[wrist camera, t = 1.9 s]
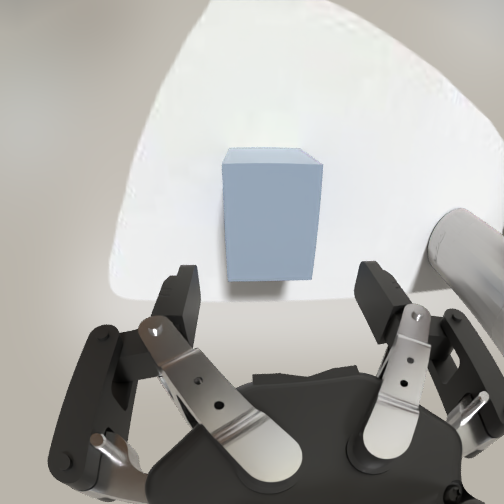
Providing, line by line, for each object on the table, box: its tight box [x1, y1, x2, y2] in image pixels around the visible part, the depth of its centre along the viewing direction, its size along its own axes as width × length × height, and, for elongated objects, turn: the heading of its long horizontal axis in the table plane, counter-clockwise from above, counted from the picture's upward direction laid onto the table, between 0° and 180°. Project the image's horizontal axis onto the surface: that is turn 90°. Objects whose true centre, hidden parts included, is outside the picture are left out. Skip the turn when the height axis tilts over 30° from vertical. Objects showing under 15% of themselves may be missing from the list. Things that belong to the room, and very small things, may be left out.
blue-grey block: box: [222, 148, 323, 281], centre depth 22 cm, size 9×6×8 cm
